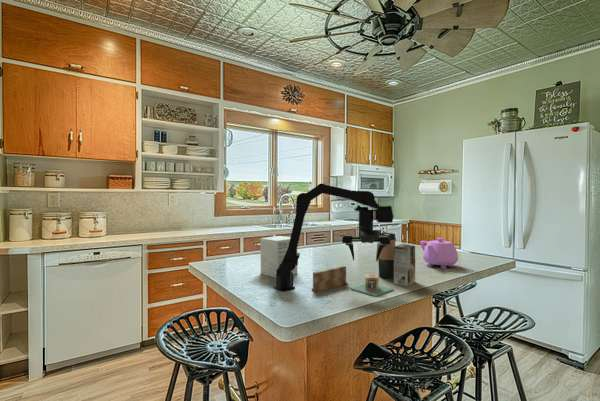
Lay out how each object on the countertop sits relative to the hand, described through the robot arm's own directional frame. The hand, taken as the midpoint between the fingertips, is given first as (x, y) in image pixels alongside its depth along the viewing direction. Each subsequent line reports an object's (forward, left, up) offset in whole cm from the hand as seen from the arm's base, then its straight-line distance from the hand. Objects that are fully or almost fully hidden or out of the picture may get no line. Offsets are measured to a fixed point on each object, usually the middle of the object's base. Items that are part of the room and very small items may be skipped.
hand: (365, 260), depth 129 cm
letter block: (+1, -3, -11) cm, 11 cm away
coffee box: (+20, -6, -12) cm, 24 cm away
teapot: (+62, +1, -12) cm, 63 cm away
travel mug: (+23, +5, -12) cm, 26 cm away
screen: (-9, +11, -12) cm, 18 cm away
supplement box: (-11, +43, -12) cm, 46 cm away
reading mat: (+1, -3, -12) cm, 12 cm away
